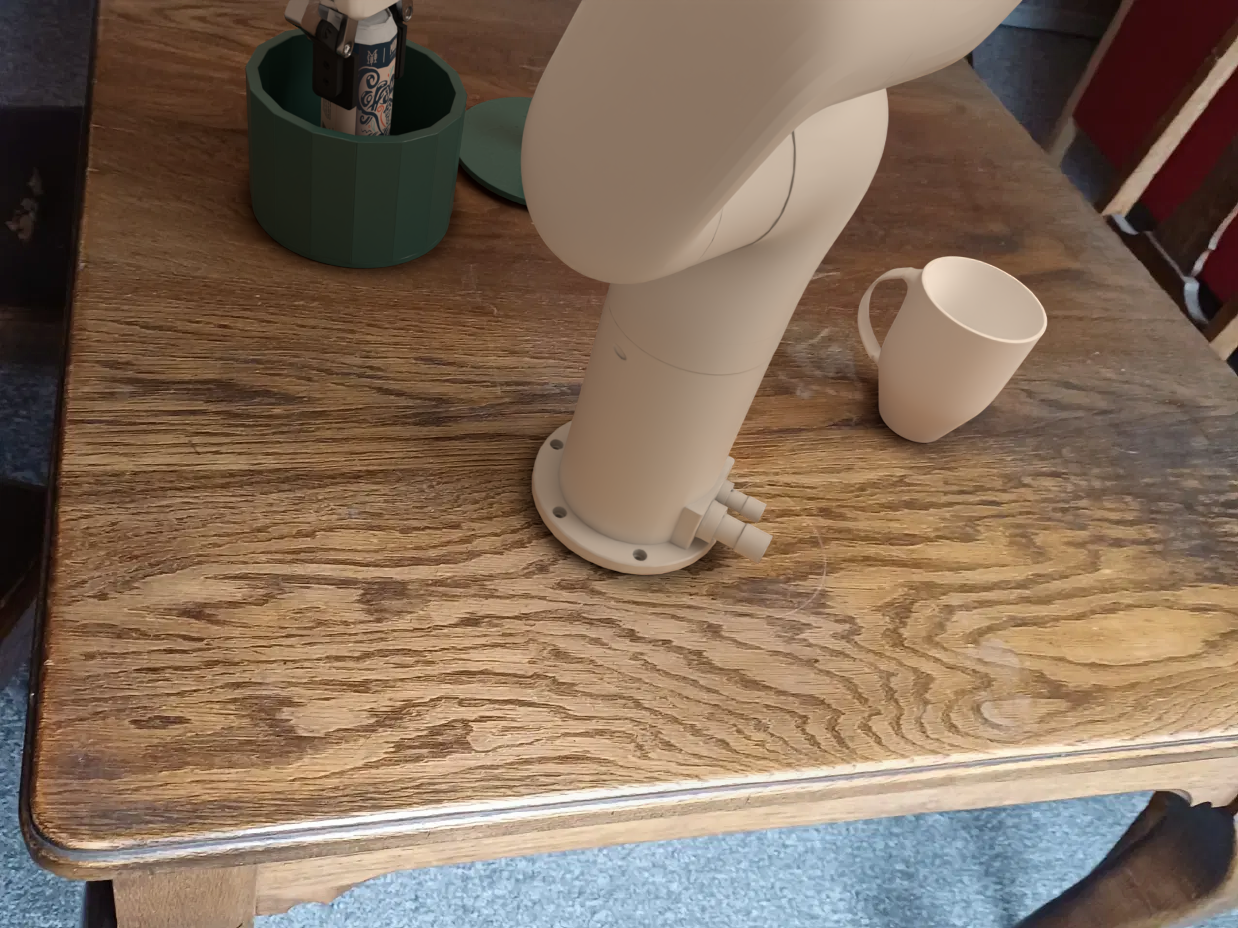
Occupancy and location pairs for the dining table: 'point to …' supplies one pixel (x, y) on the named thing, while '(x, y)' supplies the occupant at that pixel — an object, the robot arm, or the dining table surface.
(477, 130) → the tin lid
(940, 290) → the mug
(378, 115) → the beer can
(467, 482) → the dining table surface
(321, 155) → the tin
